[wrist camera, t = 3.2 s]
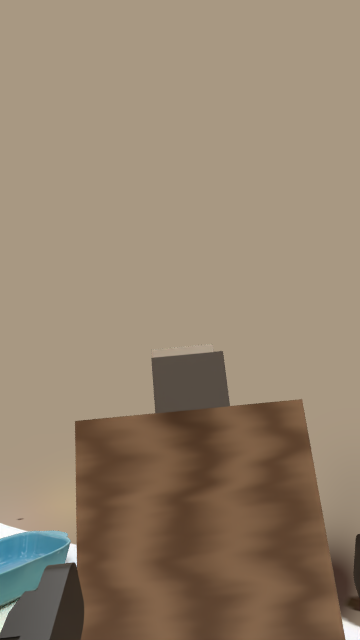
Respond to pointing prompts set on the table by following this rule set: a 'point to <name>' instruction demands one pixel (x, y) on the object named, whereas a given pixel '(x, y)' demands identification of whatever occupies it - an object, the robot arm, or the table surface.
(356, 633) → the table surface
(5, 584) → the casserole dish
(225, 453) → the stand
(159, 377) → the plug
